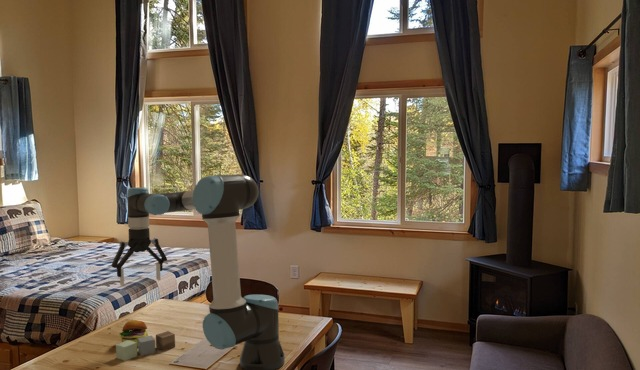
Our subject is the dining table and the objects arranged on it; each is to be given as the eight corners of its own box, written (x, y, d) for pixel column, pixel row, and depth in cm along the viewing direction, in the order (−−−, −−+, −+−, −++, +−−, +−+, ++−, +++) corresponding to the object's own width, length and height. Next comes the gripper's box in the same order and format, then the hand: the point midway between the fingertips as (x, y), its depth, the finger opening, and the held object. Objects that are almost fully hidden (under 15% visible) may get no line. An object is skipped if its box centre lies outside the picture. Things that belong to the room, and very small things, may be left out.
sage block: (137, 356, 173) (136, 342, 173) (125, 361, 169) (124, 347, 169) (128, 353, 176) (128, 339, 176) (116, 358, 172) (115, 344, 172)
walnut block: (175, 347, 181) (174, 334, 181) (162, 351, 177) (162, 337, 177) (168, 343, 184) (167, 331, 184) (156, 347, 181) (155, 334, 181)
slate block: (155, 352, 176) (154, 339, 176) (141, 356, 173) (140, 342, 173) (152, 348, 180) (151, 335, 180) (138, 351, 178) (137, 338, 177)
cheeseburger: (118, 350, 178) (117, 322, 180) (122, 347, 188) (121, 321, 190) (147, 346, 181) (146, 319, 183) (149, 343, 191) (148, 317, 193)
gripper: (168, 223, 195) (169, 275, 196) (101, 229, 181) (103, 285, 182) (174, 225, 189) (175, 279, 190) (106, 232, 174) (108, 289, 176)
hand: (140, 282), depth 186 cm, fingers open, 13 cm apart
